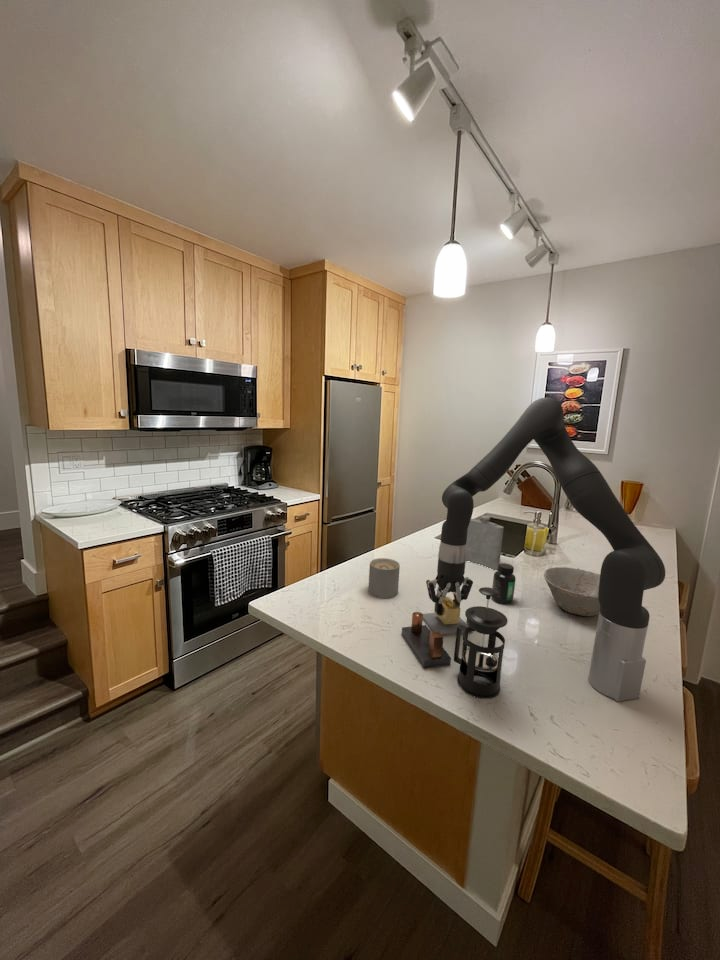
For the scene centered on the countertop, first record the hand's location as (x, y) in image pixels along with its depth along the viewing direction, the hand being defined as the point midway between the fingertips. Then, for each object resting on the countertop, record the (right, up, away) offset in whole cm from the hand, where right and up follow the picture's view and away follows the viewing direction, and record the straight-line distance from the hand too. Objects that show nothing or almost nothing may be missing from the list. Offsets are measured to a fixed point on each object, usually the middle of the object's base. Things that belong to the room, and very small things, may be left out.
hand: (446, 613), depth 117 cm
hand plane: (-8, -5, -12) cm, 15 cm away
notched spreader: (+24, +4, +49) cm, 55 cm away
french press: (+2, -8, -24) cm, 26 cm away
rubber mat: (0, -3, +1) cm, 4 cm away
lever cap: (0, -1, 0) cm, 1 cm away
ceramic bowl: (+45, -4, +14) cm, 47 cm away
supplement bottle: (+22, -2, +18) cm, 28 cm away
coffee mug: (-16, +1, +21) cm, 26 cm away
